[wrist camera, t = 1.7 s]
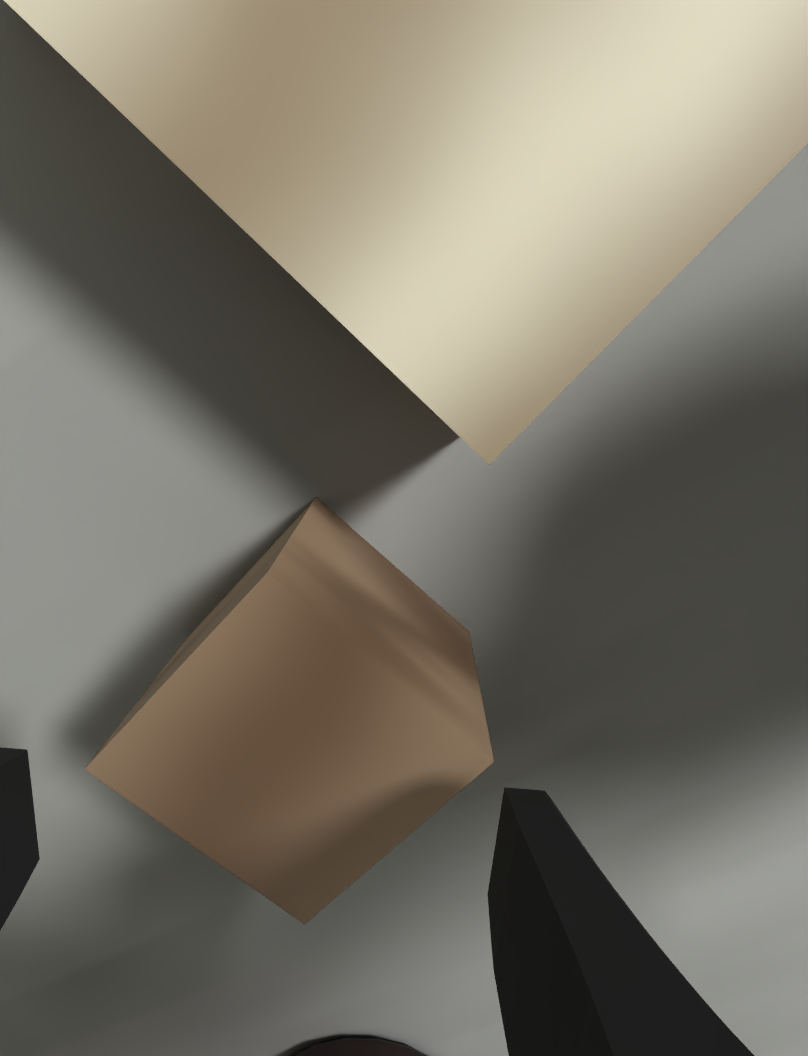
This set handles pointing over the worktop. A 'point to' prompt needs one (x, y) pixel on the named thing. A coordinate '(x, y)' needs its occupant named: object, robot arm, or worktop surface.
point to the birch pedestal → (462, 160)
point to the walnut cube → (306, 719)
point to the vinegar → (360, 1048)
